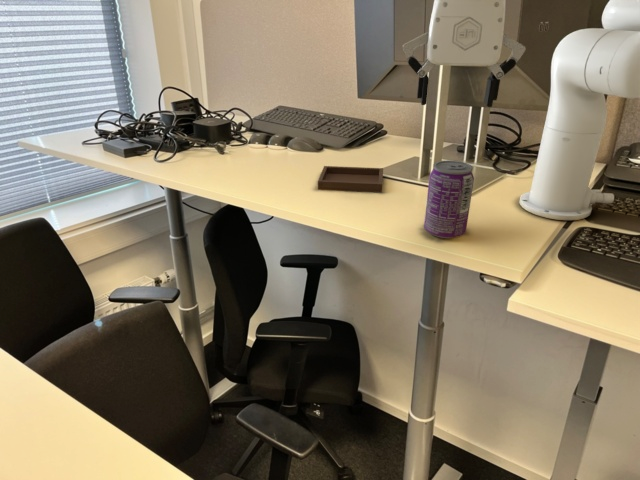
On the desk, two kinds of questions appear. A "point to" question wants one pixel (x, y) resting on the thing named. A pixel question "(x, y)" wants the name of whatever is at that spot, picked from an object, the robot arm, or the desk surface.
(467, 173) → the beverage can
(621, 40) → the robot arm
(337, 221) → the desk surface
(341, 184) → the tray
